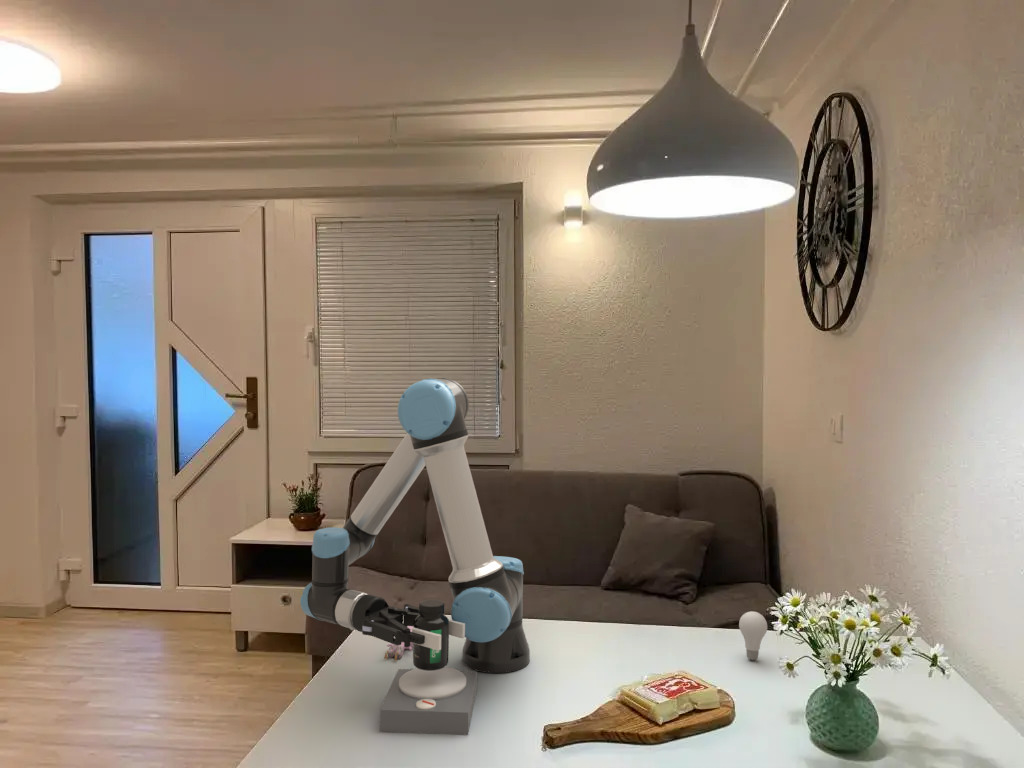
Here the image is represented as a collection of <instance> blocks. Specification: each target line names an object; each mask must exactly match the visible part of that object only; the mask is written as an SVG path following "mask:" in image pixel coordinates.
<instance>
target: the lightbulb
mask: <svg viewBox="0 0 1024 768" xmlns="http://www.w3.org/2000/svg"><path fill="white" fill-rule="evenodd" d="M738 628H739V630H740V633H741V635H742V637H743V639H744V643H745V644H744V645H745V649H746V651H745V652H746V657H747V658H748V659H749V660H750V661H756V660H757V659H759V653H760V652H759V651H760V649H761V644H762V640H763V638H764V637H765V635H766V634H767V631H768V623H767V620H766V618H765V617H764V616H763V615H762V614H761V613H760V612H757V611H753V610H752V611H747V612H744V613H743V614H742V615H741V617H740V618H739V623H738Z"/></svg>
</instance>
